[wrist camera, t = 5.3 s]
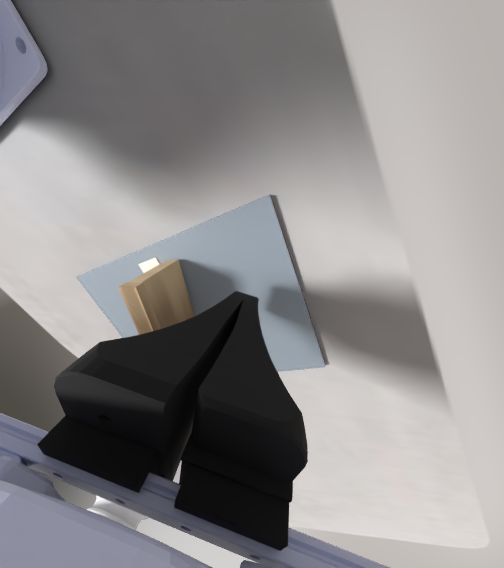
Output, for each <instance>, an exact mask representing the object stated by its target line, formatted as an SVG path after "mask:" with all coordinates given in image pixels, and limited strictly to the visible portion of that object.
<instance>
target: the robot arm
mask: <svg viewBox="0 0 504 568" xmlns="http://www.w3.org/2000/svg"><path fill="white" fill-rule="evenodd" d="M46 74H47V63H46V61H45V59H44V57H43V55H42V53H41V51H40V50H39V48H38V46H37V45H36V43H35V41H34V39H33V38H32V36H31V34H30V32H29V31H28V29H27V27H26V26H25V24H24V22H23V20H22V19H21V17H20V15H19V13H18V12H17V10H16V8H15V7H14V5H13V3H12V1H11V0H0V126H1V124H2V123H3V122H4V121H5V120H6V119H7V118H8V117H9V116H10V115H11V113H12V112H13V111H14V110H15V109H16V108H17V107H18V106H19V105H20V104H21V103H22V101H23V100H24V99H25V98H26V97H27V96H28V95H29V94H30V93H31V92H32V90H33V89H34V88H35V87H36V86H37V85H38V84H39V83H40V82H41V81H42V80H43V78H44V77H45V76H46ZM258 302H259V299H258V297H255V296H251V295H248V294H245V293H242V292H239V291H235V292H233V293H232V294H231V295H229V296H228V297H226V298H225V299H224V300H222V301H221V302H219V303H217V304H216V305H214V306H213V307H211V308H209V309H207V310H206V311H204V312H202V313H200V314H198V315H196V316H194V317H192V318H190V319H187V320H185V321H183V322H180V323H177V324H174V325H171V326H168V327H165V328H162V329H159V330H155V331H152V332H148V333H144V334H140V335H135V336H131V337H126V338H120V339H115V340H109V341H103V342H100V343H98V344H97V345H96V346H94V347H93V348H92V349H90V350H89V351H88V352H86V353H85V354H84V355H83V356H81V357H80V358H79V359H78V360H76V361H75V362H74V363H73V364H72V365H70V366H69V367H68V368H67V369H65V370H64V371H63V372H62V373H60V374H59V375H58V376H57V377H56V379H55V384H54V388H55V391H56V394H57V397H58V399H59V401H60V403H61V406H62V408H63V410H64V412H65V414H66V416H65V417H64V418H63V419H62V420H61V421H60V422H59V423H58V424H57V425H56V426H55V427H54V428H53V429H52V430H51V431H50V432H47V431H44V430H42V429H39V428H37V427H34V426H32V425H29V424H27V423H24V422H22V421H19V420H17V419H14V418H12V417H9V416H7V415H4V414H2V413H0V568H212V567H210V566H208V565H206V564H204V563H202V562H200V561H198V560H196V559H194V558H192V557H190V556H188V555H186V554H184V553H182V552H180V551H178V550H176V549H174V548H172V547H169V546H168V545H166V544H164V543H162V542H160V541H157V540H155V539H153V538H151V537H149V536H146V535H144V534H142V533H140V532H138V531H136V530H133V529H131V528H129V527H127V526H124V525H122V524H120V523H117V522H115V521H113V520H110V519H108V518H105V517H103V516H101V515H98V514H96V513H93V512H91V511H88V510H86V509H83V508H81V507H78V506H75V505H73V504H70V503H67V502H66V501H65V500H64V499H63V498H62V497H61V496H60V495H59V494H58V493H57V491H56V490H55V489H54V486H53V483H52V481H51V480H49V479H47V478H45V477H44V476H42V475H40V474H39V473H37V472H35V471H34V470H36V471H39V472H41V473H44V474H46V475H49V476H51V477H53V478H56V479H58V480H61V481H63V482H65V483H68V484H70V485H72V486H75V487H77V488H80V489H82V490H84V491H87V492H89V493H92V494H94V495H96V496H99V497H101V498H104V499H106V500H108V501H111V502H113V503H116V504H118V505H120V506H123V507H125V508H128V509H130V510H133V511H135V512H137V513H140V514H142V515H145V516H147V517H149V518H152V519H154V520H157V521H159V522H161V523H164V524H166V525H169V526H171V527H173V528H176V529H178V530H181V531H183V532H185V533H188V534H190V535H193V536H195V537H197V538H200V539H202V540H205V541H207V542H209V543H212V544H214V545H217V546H219V547H222V548H224V549H226V550H229V551H231V552H233V553H236V554H238V555H241V556H243V557H245V558H248V559H251V560H253V561H255V562H257V563H255V562H251V561H246V560H244V561H243V562H242V563H241V566H240V568H389V567H387V566H384V565H381V564H379V563H377V562H374V561H371V560H369V559H366V558H364V557H361V556H359V555H356V554H354V553H351V552H349V551H346V550H344V549H341V548H339V547H336V546H334V545H331V544H329V543H326V542H324V541H321V540H319V539H316V538H314V537H311V536H308V535H306V534H304V533H301V532H298V531H296V530H293V529H291V528H288V522H289V502H291V501H292V491H293V480H294V479H295V478H296V477H297V475H298V474H299V473H300V472H301V471H302V470H303V469H304V468H305V466H306V464H307V462H308V460H307V454H308V452H307V440H306V433H305V427H304V422H303V417H302V413H301V411H300V410H299V408H298V407H297V405H296V404H295V402H294V401H293V399H292V397H291V396H290V394H289V393H288V391H287V389H286V388H285V386H284V384H283V382H282V380H281V379H280V377H279V374H278V372H277V370H276V368H275V366H274V364H273V362H272V360H271V357H270V355H269V352H268V350H267V347H266V344H265V341H264V338H263V334H262V330H261V325H260V320H259V312H258ZM181 460H182V465H181V473H180V482H179V484H178V483H175V482H173V479H174V476H175V473H176V471H177V468H178V466H179V463H180V461H181ZM30 468H32V469H34V470H32V469H30ZM259 563H260V564H259Z"/></svg>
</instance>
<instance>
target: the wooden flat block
mask: <svg viewBox="0 0 504 568" xmlns="http://www.w3.org/2000/svg"><path fill="white" fill-rule="evenodd" d="M118 289H119V291H120V293H121V296H122V298H123V300H124V302H125V305H126V307H127V309H128V311H129V313H130V316H131V318H132V320H133V322H134V325H135V327H136V329H137V331H138V333H139V335H140V334H144V333H148V332H152V331H155V330H159V329H162V328H165V327H168V326H171V325H174V324H177V323H180V322H183V321H185V320H187V319H190V318H192V317H194V313H193V309H192V306H191V302H190V298H189V295H188V291H187V288H186V284H185V281H184V277H183V274H182V270H181V267H180V263H179V260H178V259H176V260H166V261H164V262H163V263H161V264H159V265H157V266H156V267H154V268H152V269H150V270H149V271H147V272H145V273H143V274H142V275H140V276H138V277H136V278H135V279H133V280H131V281H129V282H126V283H124V284H122V285H121V286H119V287H118Z"/></svg>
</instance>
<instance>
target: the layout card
mask: <svg viewBox="0 0 504 568" xmlns="http://www.w3.org/2000/svg"><path fill="white" fill-rule="evenodd" d="M176 259H178V260H179V263H180V267H181V270H182V274H183V277H184V281H185V284H186V288H187V291H188V295H189V298H190V302H191V306H192V309H193V313H194V316H196V315H198V314H200V313H202V312H204V311H206V310H207V309H209V308H211V307H213V306H214V305H216V304H217V303H219V302H221V301H222V300H224V299H225V298H226V297H228V296H229V295H231V294H232V293H233V292H235V291H239V292H242V293H245V294H248V295H251V296H255V297H258V299H259V302H258V312H259V320H260V325H261V330H262V334H263V338H264V341H265V344H266V347H267V350H268V352H269V355H270V357H271V360H272V362H273V364H274V366H275V368H276V370H277V372H279V371H289V370H300V369H310V368H320V367H325V362H324V359H323V356H322V353H321V350H320V347H319V343H318V340H317V337H316V334H315V331H314V328H313V325H312V322H311V319H310V316H309V313H308V310H307V306H306V303H305V300H304V297H303V294H302V291H301V288H300V285H299V282H298V279H297V276H296V273H295V269H294V266H293V263H292V260H291V257H290V254H289V251H288V248H287V245H286V242H285V239H284V236H283V233H282V229H281V226H280V223H279V220H278V217H277V214H276V211H275V208H274V205H273V202H272V199H271V196H270V195H268V196H265V197H263V198H261V199H258V200H256V201H254V202H251V203H249V204H246V205H244V206H242V207H239V208H237V209H235V210H232V211H230V212H228V213H225V214H223V215H221V216H218V217H216V218H214V219H211V220H209V221H207V222H204V223H202V224H200V225H197V226H195V227H193V228H190V229H188V230H185V231H183V232H181V233H178V234H176V235H174V236H171V237H169V238H167V239H164V240H162V241H160V242H157V243H155V244H153V245H150V246H148V247H146V248H143V249H141V250H139V251H136V252H134V253H132V254H129V255H127V256H124V257H122V258H120V259H117V260H115V261H113V262H110V263H108V264H106V265H103V266H101V267H99V268H96V269H94V270H92V271H89V272H87V273H85V274H82V275H80V276H78V277H76V278H77V279H78V280H79V282H80V283H81V284H82V286H83V287H84V288H85V289H86V291H87V292H88V293H89V295H90V296H91V297H92V299H93V300H94V301H95V302H96V304H97V305H98V306H99V308H100V309H101V310H102V311H103V313H104V314H105V315H106V317H107V318H108V319H109V321H110V322H111V323H112V324H113V326H114V327H115V328H116V330H117V331H118V332H119V334H120V335H121V336H122V337H123V338H126V337H131V336H135V335H139V333H138V331H137V329H136V327H135V325H134V322H133V320H132V318H131V316H130V313H129V311H128V309H127V307H126V305H125V302H124V300H123V298H122V296H121V293H120V291H119V289H118V287H119V286H121V285H122V284H124V283H126V282H129V281H131V280H133V279H135V278H136V277H138V276H140V275H142V274H143V273H145V272H147V271H149V270H150V269H152V268H154V267H156V266H157V265H159V264H161V263H163V262H164V261H166V260H176Z"/></svg>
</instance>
